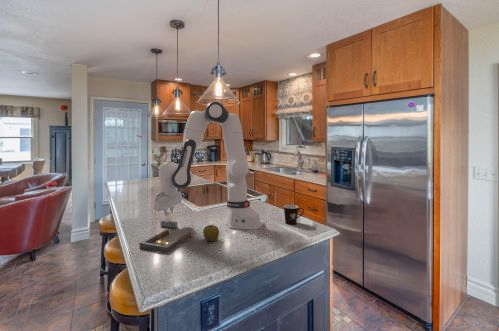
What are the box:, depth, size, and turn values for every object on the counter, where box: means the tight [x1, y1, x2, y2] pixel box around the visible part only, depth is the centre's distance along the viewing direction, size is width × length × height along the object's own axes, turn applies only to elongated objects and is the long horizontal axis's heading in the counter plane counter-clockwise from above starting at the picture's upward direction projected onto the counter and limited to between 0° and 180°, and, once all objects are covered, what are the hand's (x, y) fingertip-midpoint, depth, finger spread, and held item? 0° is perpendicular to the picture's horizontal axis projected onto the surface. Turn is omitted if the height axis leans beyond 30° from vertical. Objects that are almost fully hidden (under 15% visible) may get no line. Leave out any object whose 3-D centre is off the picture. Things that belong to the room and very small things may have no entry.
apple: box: [202, 224, 220, 242], centre depth 129 cm, size 8×8×7 cm
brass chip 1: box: [154, 238, 166, 245], centre depth 125 cm, size 4×4×2 cm
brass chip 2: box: [163, 240, 174, 246], centre depth 124 cm, size 4×4×2 cm
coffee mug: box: [283, 204, 305, 226], centre depth 154 cm, size 12×9×10 cm
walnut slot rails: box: [155, 228, 192, 245], centre depth 132 cm, size 15×9×2 cm, turn 70°
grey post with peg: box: [159, 209, 178, 229], centre depth 149 cm, size 10×2×9 cm, turn 70°
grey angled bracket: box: [139, 234, 181, 254], centre depth 123 cm, size 15×10×2 cm, turn 70°
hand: (168, 214), depth 148 cm, fingers closed on grey post with peg, 2 cm apart
